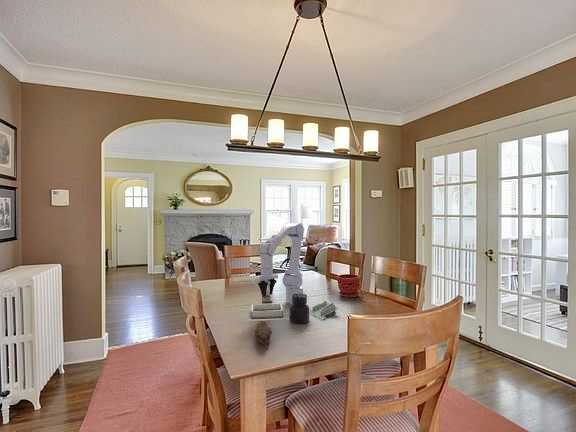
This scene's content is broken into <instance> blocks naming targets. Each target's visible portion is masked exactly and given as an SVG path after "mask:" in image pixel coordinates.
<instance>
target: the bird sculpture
mask: <svg viewBox="0 0 576 432" xmlns="http://www.w3.org/2000/svg"><path fill="white" fill-rule="evenodd" d="M254 335H255V338H256V340H257V342H258V343H260V344H262V345H264V347H265V349H266V348H267V343H269V341H270V340H271V335H273V332H272V329H271V328H270V327H268V325H267V324H266V321H265V320H264V321H263V320H262V321H261V322H260V323H259V324H257V325H256V329H255V333H254Z"/></svg>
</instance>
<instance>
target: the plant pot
mask: <svg viewBox="0 0 576 432" xmlns="http://www.w3.org/2000/svg"><path fill="white" fill-rule="evenodd" d="M336 280H337V281H336V282H337V287H338V289H339V293H338V294H339V295H340V296H342V297H344V298H356V297H358V296H359V295H360V292H359V288H360V284H361V281H360V280H361V278H360V275H359V274H355V273H354V274H353V273H346V274H344V273H343V274H338V275H337V278H336Z"/></svg>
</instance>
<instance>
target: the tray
mask: <svg viewBox="0 0 576 432" xmlns="http://www.w3.org/2000/svg"><path fill="white" fill-rule="evenodd" d="M250 314H251V318H253V320H261V319H262V320H263V319H267V320H268V319H271V317H281V319H284V308H283V304H282V303H280V302H279V303H278V302H276V303H275V302H274V304H260V303H252V304H251V313H250Z"/></svg>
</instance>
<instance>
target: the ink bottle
mask: <svg viewBox="0 0 576 432" xmlns="http://www.w3.org/2000/svg"><path fill="white" fill-rule="evenodd" d="M307 302H308V295H307V294H305V293H303V294H302V293H296V294H293V295H292V303H293V304H291V305H290V307H289V322H290V323H292V324H297V325H302V324H303V325H304V324H307V323H309V321H310V313H309V309H310V306H309V305H308V303H307Z"/></svg>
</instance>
